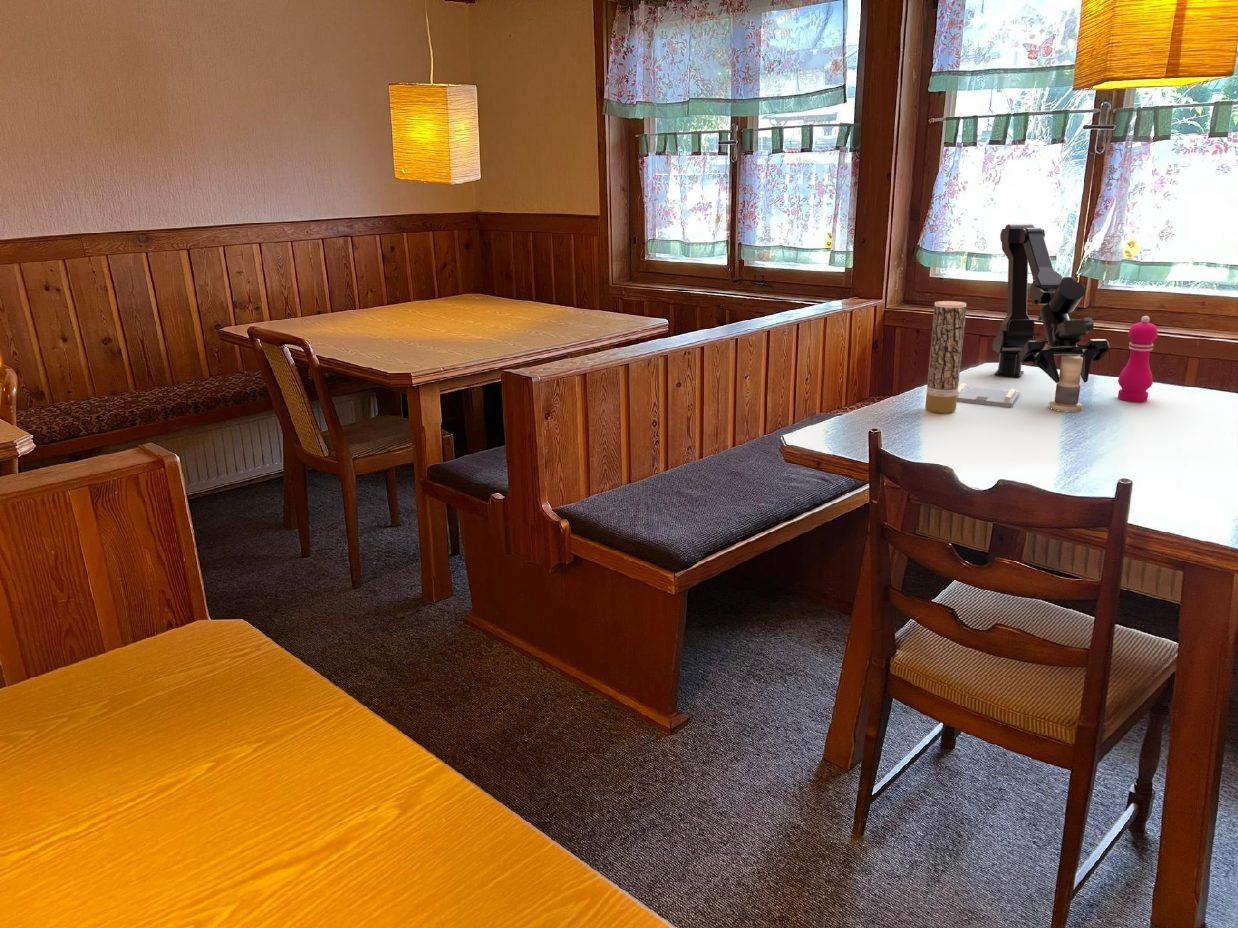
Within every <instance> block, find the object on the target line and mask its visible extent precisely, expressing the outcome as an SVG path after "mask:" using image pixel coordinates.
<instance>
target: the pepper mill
mask: <svg viewBox="0 0 1238 928" xmlns="http://www.w3.org/2000/svg"><path fill="white" fill-rule="evenodd" d="M1150 320H1151V318H1150V317H1149V316H1148V315H1143V316H1142V317H1141V318H1140V321H1139V322H1137V323H1134V324H1133V325H1131V327H1130V328H1129V330H1128V338H1129V339H1130V342H1129V344H1128V345H1129V346H1128V349H1129V350H1130V352H1129V353H1130V354H1129V359H1128V362H1127V363H1126V364H1125V366H1124V368H1123V369H1122V370H1121V372H1120V374H1119V376H1118V381H1117V383H1118V385H1119V386H1120V388H1121V389H1119V390H1118V392H1117V393H1118V394H1117V399H1119V400H1121V401H1125V402H1135V403H1142V402H1146V400H1148V398H1149V392H1148V389H1150V388H1151V387H1152V386H1153V379H1154V378H1153V373H1152V371H1151V368H1150V362H1149V360H1150V358H1149V357H1150V353H1151V351H1153V350H1154V343H1153V342H1155V340H1156V339H1157V338H1158V334H1159V330H1158V328H1157V326H1156V325H1155V324H1153V323H1151V322H1150Z"/></svg>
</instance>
